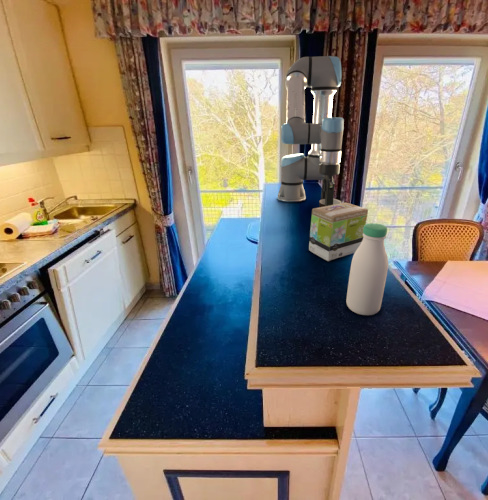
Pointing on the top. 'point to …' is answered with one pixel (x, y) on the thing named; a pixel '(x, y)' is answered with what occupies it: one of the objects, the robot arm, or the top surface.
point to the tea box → (336, 230)
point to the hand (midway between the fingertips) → (325, 221)
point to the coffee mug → (322, 202)
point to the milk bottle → (368, 272)
